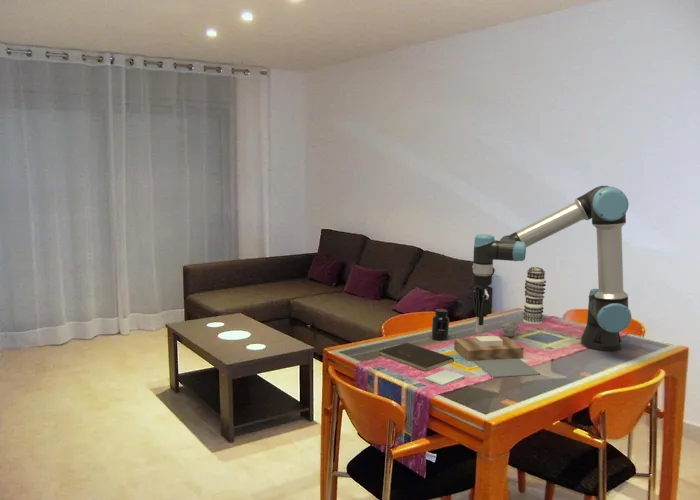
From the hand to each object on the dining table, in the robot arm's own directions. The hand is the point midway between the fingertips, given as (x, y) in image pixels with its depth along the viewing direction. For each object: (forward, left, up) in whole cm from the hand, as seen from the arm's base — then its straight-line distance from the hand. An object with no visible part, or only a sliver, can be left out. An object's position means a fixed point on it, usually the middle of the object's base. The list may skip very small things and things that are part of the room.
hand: (479, 332), depth 242 cm
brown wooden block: (0, +9, -6) cm, 11 cm away
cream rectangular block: (0, +9, -2) cm, 9 cm away
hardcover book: (+29, +10, -7) cm, 31 cm away
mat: (0, +25, -6) cm, 26 cm away
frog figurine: (-18, -10, -6) cm, 21 cm away
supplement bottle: (+12, -12, -6) cm, 18 cm away
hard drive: (+26, +32, -7) cm, 42 cm away
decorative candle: (-39, -30, -6) cm, 50 cm away
